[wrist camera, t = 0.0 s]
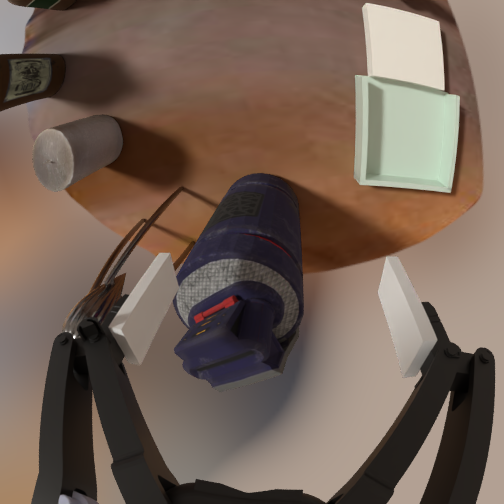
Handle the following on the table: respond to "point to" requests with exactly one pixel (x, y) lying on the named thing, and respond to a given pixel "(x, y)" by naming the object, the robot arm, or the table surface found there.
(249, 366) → the grenade
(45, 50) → the table surface
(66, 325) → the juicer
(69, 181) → the pillar candle
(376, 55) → the white square slab
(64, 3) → the beer bottle
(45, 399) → the robot arm
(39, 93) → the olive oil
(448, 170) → the box
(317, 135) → the table surface
